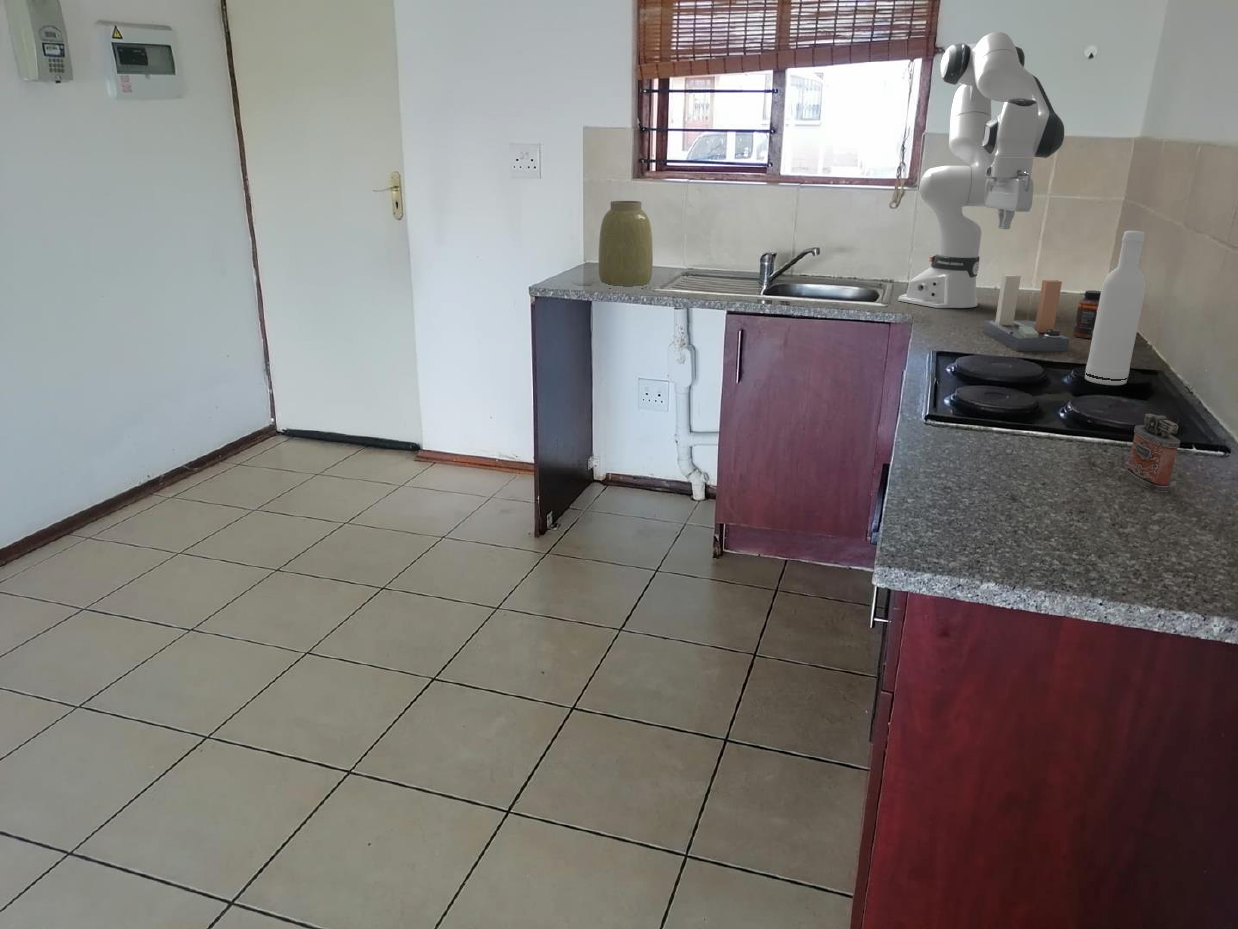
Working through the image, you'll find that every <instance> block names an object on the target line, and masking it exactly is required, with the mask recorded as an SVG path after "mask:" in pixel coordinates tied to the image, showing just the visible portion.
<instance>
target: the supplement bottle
mask: <svg viewBox="0 0 1238 929" xmlns="http://www.w3.org/2000/svg"><path fill="white" fill-rule="evenodd" d="M1100 295H1101V291H1100V290H1092V289H1091V290H1085V292H1084V298H1082V299H1080V300H1079V302H1078V307H1077V312H1076V317H1075V322H1074V323H1075V324H1074V328H1073V335H1074V336H1075V337H1077V338H1081V339H1092V337H1093V332H1094V326H1095V321H1096V316H1097V311H1098V305H1099V300H1100Z"/></svg>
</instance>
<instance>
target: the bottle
mask: <svg viewBox="0 0 1238 929" xmlns="http://www.w3.org/2000/svg"><path fill="white" fill-rule="evenodd" d="M1145 236H1146V233H1145V231H1141V230H1140V231H1139V230H1125V231H1124V232H1123V236H1122V238H1121V241H1122V243H1121V248H1120V252H1119V256H1118V257H1119V258H1118V263H1117V267H1116V268H1114V269H1112V270H1111V271H1110V272H1109V273H1108V274H1107V275H1106V277H1105V278H1104V280H1103V282H1102V287H1101V295H1100V300H1099V305H1098V311H1097V316H1096V321H1095V326H1094V332H1093V337H1092V338H1091V343H1090V349H1089V352H1088V353H1089V354H1088V359H1087V361H1086V362H1087V363H1086V366H1085V373H1084V374H1085V375H1084V379H1085V380H1086V381H1088V382H1091V383H1094V384H1098V385H1105V386H1122V385H1125V384H1127V381H1128V378H1129V374H1130V370H1131V369H1130V368H1131V367H1130V366H1131V361H1132V356H1133V352H1134V348H1135V342H1136V337H1137V333H1138V328H1139V323H1140V318H1141V313H1142V308H1143V303H1144V299H1145V294H1146V288H1147V285H1146V278H1145V275H1144V274H1143V272H1142V271H1141V270H1140V269H1139V264H1140V259H1141V254H1142V250H1143V245H1144V243H1145ZM1086 373H1087V374H1091V375H1094V376H1098V377H1103V378H1110V379H1125V378H1127V379H1126V380H1121V381H1111V380H1102V379H1096V378H1092V377H1089V376H1087V375H1086Z"/></svg>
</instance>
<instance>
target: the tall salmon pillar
mask: <svg viewBox="0 0 1238 929" xmlns="http://www.w3.org/2000/svg"><path fill="white" fill-rule="evenodd" d="M1062 285H1063V281H1061V280H1057V279H1050V280H1049V279H1047V280H1046V279H1043V280H1042V282H1041V288H1040V294H1039V300H1038V305H1037V311H1036V318H1035V321H1036V323H1035V330H1036V331H1038V332H1046V330H1048V329H1055V324H1056V319H1057V312H1058V307H1059V301H1060V295H1061V292H1062V291H1061V289H1062Z"/></svg>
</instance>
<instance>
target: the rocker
mask: <svg viewBox="0 0 1238 929" xmlns="http://www.w3.org/2000/svg"><path fill="white" fill-rule="evenodd" d="M1018 331H1019V332H1020V333H1021V334H1022V335H1023V336H1024V337H1025V338H1038V335H1039V333H1038V332H1037V331H1036V330H1035V329H1034V328H1033V327H1019V330H1018Z"/></svg>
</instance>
